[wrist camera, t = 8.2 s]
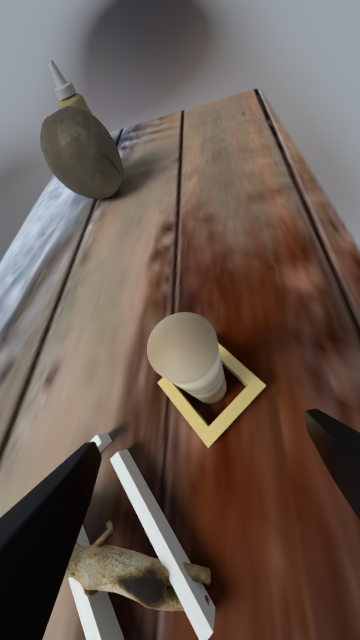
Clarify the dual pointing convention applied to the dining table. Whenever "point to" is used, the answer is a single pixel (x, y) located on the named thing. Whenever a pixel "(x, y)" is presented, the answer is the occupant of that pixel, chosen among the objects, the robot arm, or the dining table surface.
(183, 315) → the post
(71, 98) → the squeeze bottle
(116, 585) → the figurine
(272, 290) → the dining table surface
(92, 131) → the grey egg-shaped stone
